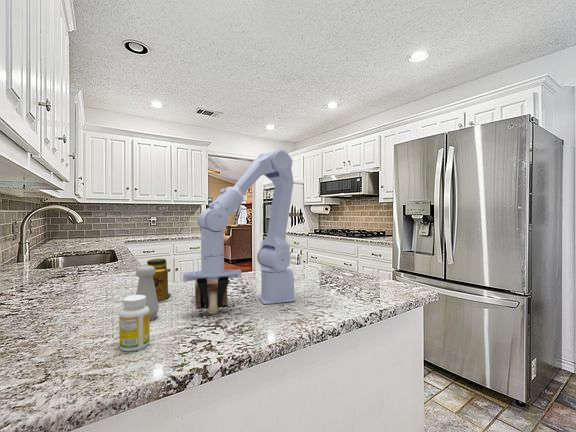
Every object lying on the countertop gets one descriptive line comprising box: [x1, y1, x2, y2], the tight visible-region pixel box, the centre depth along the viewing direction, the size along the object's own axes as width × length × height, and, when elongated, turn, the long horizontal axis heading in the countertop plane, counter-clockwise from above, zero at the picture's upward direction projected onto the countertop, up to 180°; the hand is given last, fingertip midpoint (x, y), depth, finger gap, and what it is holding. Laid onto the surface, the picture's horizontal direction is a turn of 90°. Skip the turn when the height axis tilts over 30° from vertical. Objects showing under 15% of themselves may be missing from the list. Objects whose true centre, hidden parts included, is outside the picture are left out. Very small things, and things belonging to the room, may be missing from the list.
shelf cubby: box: [194, 279, 228, 309], centre depth 87 cm, size 8×12×6 cm
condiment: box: [146, 258, 172, 303], centre depth 89 cm, size 7×8×12 cm
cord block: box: [201, 287, 219, 315], centre depth 83 cm, size 4×16×5 cm, turn 18°
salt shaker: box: [135, 265, 160, 321], centre depth 72 cm, size 6×6×13 cm
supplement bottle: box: [118, 294, 151, 352], centre depth 58 cm, size 5×5×10 cm
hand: (212, 306), depth 77 cm, fingers closed on cord block, 3 cm apart
